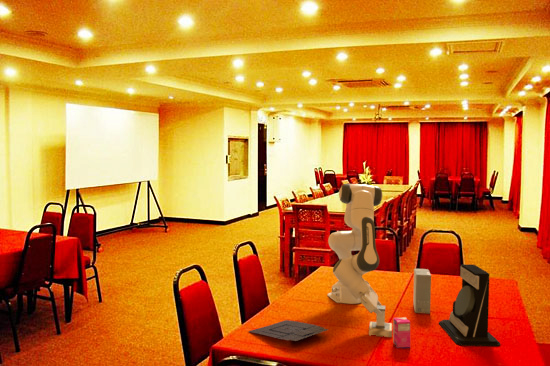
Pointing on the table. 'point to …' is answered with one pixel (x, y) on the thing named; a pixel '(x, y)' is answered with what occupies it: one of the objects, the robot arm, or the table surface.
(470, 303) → the award
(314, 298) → the table surface
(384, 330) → the oak stand
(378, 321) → the plate
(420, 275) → the hard drive box
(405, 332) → the supplement box
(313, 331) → the dark grey panelled slab
